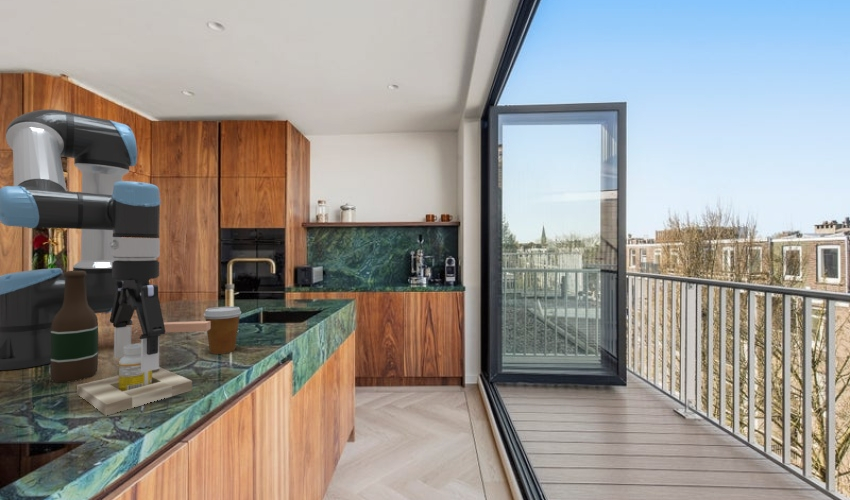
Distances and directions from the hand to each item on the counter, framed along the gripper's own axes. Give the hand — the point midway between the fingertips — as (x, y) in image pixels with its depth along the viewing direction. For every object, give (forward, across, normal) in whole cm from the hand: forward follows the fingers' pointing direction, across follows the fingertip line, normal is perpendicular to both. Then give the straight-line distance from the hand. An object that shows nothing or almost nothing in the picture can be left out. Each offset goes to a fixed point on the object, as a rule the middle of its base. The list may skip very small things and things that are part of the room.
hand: (135, 363), depth 75 cm
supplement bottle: (+6, 0, 0) cm, 6 cm away
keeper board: (+6, 0, 0) cm, 6 cm away
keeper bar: (-5, -1, +8) cm, 10 cm away
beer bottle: (+6, -22, -4) cm, 23 cm away
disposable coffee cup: (+6, -16, +26) cm, 31 cm away
